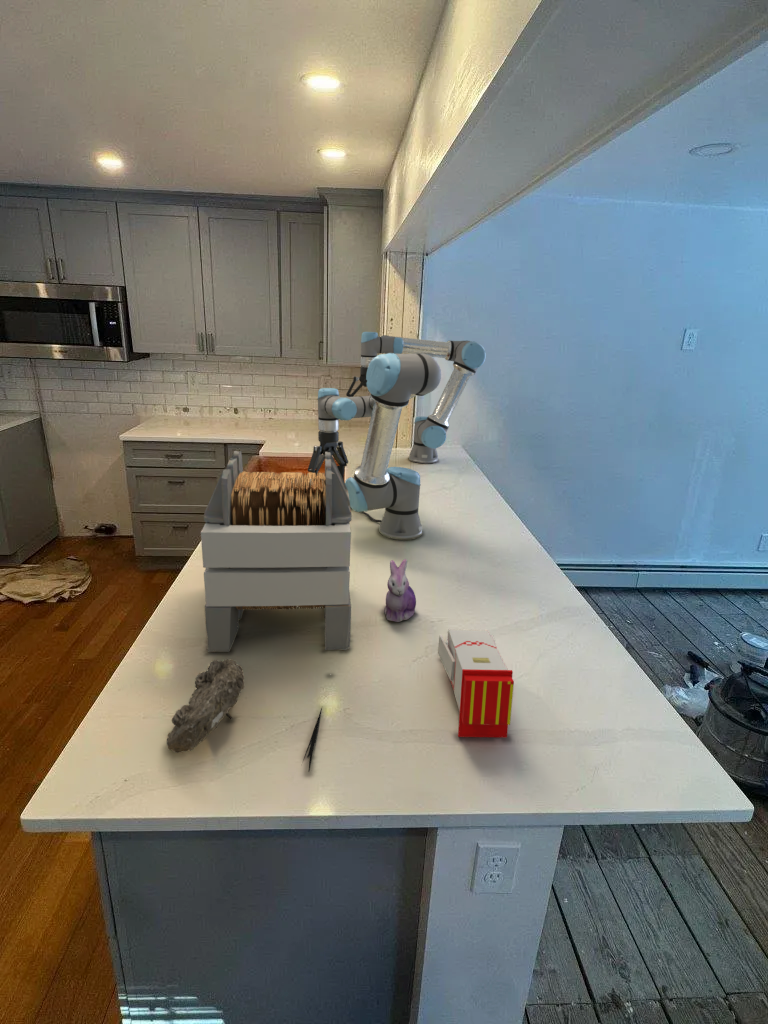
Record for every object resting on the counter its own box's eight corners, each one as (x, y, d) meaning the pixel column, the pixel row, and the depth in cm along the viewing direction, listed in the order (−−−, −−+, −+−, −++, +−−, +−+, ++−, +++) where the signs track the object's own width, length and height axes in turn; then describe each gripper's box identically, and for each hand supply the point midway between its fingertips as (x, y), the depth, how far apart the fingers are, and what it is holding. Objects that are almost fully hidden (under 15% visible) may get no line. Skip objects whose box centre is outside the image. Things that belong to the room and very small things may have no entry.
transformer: (227, 584, 158) (219, 441, 145) (344, 583, 162) (347, 443, 148) (205, 654, 127) (191, 480, 113) (351, 650, 130) (355, 481, 117)
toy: (488, 613, 130) (523, 677, 101) (484, 667, 133) (517, 744, 104) (435, 612, 130) (455, 676, 101) (432, 666, 133) (451, 743, 103)
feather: (331, 679, 122) (336, 673, 122) (307, 777, 96) (313, 769, 95) (324, 675, 122) (329, 669, 121) (298, 772, 95) (304, 764, 95)
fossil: (192, 660, 117) (244, 628, 112) (224, 691, 120) (276, 661, 115) (142, 746, 98) (202, 712, 93) (182, 779, 101) (242, 748, 96)
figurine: (392, 627, 141) (395, 572, 136) (374, 608, 149) (376, 556, 144) (425, 619, 145) (429, 566, 140) (405, 601, 154) (408, 550, 149)
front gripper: (342, 425, 222) (342, 478, 228) (297, 433, 203) (298, 490, 209) (357, 427, 218) (357, 481, 224) (312, 436, 198) (313, 494, 205)
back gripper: (341, 366, 260) (341, 412, 268) (395, 368, 263) (393, 413, 270) (341, 364, 268) (340, 409, 275) (394, 366, 270) (392, 411, 277)
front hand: (328, 486), depth 217 cm, fingers open, 13 cm apart
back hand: (367, 411), depth 272 cm, fingers open, 13 cm apart
